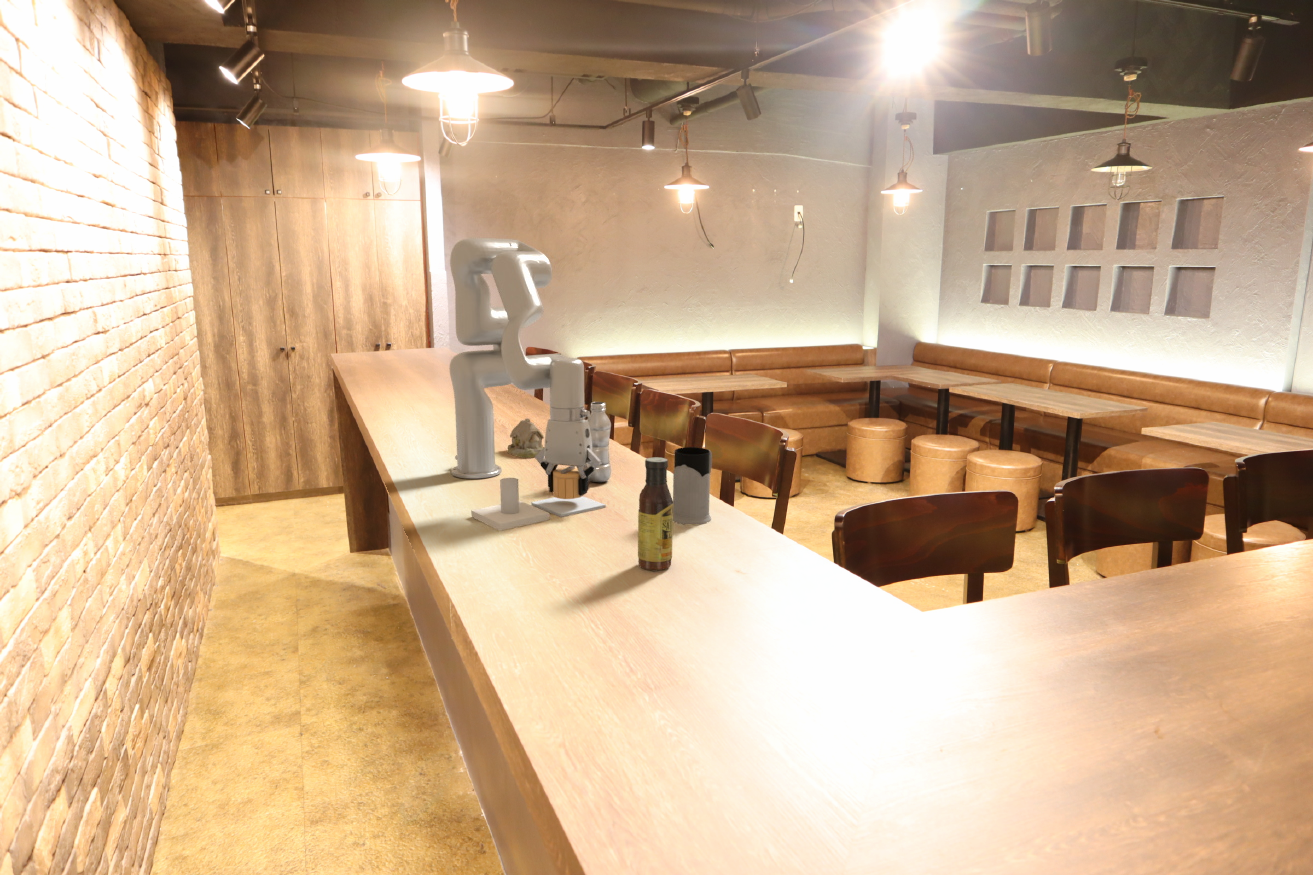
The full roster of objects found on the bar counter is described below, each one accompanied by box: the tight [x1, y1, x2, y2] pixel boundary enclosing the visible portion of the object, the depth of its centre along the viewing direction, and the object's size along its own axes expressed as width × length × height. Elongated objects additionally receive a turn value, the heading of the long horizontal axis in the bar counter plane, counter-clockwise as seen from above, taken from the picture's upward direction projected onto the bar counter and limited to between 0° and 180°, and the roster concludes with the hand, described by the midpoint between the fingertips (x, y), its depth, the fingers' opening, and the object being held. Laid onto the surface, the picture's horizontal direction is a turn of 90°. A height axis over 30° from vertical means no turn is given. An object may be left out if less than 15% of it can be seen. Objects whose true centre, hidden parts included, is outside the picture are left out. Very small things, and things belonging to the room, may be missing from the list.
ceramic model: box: [507, 418, 545, 459], centre depth 238 cm, size 14×11×10 cm
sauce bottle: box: [637, 456, 674, 572], centre depth 149 cm, size 6×6×20 cm
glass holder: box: [672, 446, 713, 525], centre depth 180 cm, size 9×14×15 cm, turn 152°
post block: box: [470, 477, 550, 531], centre depth 177 cm, size 12×12×8 cm
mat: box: [530, 495, 607, 518], centre depth 187 cm, size 12×12×1 cm
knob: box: [552, 466, 584, 499], centre depth 186 cm, size 7×7×6 cm
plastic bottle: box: [586, 401, 612, 483], centre depth 206 cm, size 6×7×20 cm
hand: (568, 491), depth 186 cm, fingers closed on knob, 6 cm apart
